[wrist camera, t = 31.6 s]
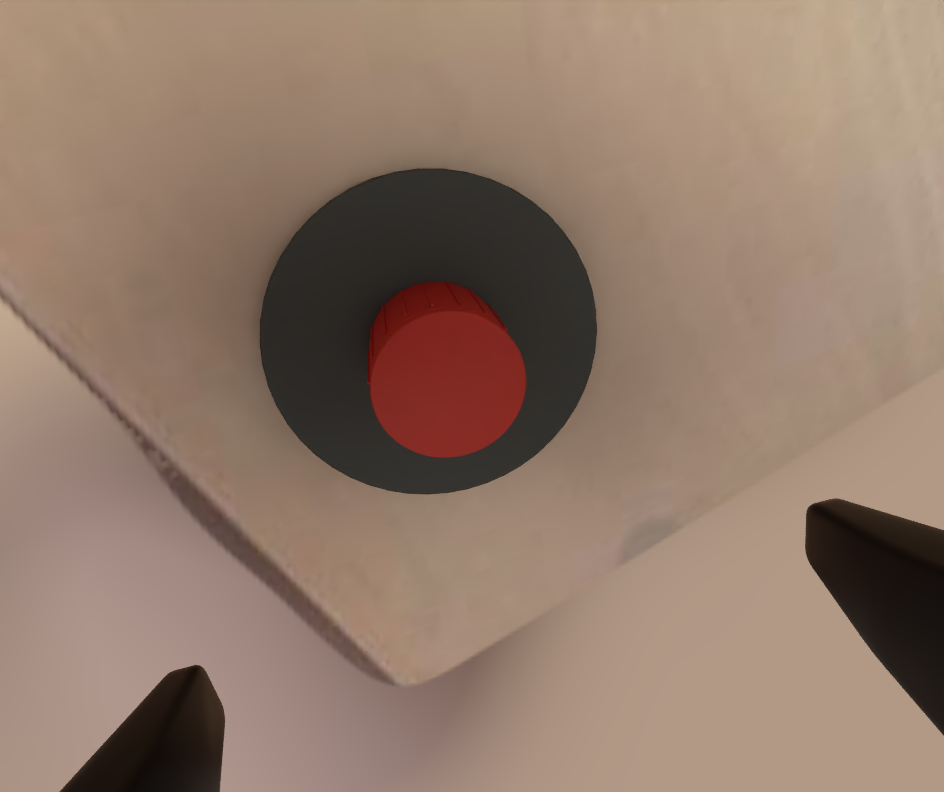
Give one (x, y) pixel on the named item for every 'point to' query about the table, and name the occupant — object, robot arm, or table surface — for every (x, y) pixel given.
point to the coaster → (401, 266)
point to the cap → (443, 371)
